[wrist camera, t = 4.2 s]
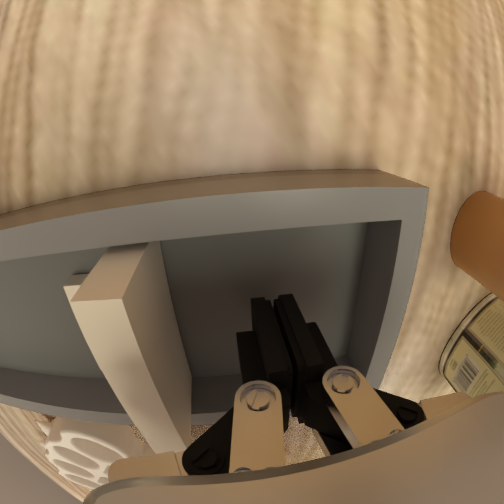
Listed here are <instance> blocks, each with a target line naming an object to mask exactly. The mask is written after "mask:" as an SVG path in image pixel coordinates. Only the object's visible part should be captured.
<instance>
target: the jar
mask: <svg viewBox="0 0 504 504" xmlns="http://www.w3.org/2000/svg"><path fill="white" fill-rule="evenodd" d="M450 249H451V256H452V259H453V261H454V263H455V264H456V265H457V266H458V267H459V268H461V269H462V270H463V271H465V272H466V273H467V274H469V275H470V276H471V277H473V278H474V279H475V280H477V281H478V282H479V283H480V284H482V285H483V286H484V287H486V288H487V289H488V290H489V291H491V292H492V293H493V294H494V295H495V296H497V297H498V298H499V299H500V300H502V301H503V302H504V199H502V198H500V197H497V196H495V195H492V194H490V193H488V192H485V191H479V192H476V193H474V194H473V195H471V196H470V197H469V198H468V199H467V200H466V201H465V203H464V204H463V206H462V207H461V209H460V211H459V213H458V215H457V217H456V220H455V223H454V226H453V230H452V235H451V243H450Z"/></svg>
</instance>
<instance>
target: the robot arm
mask: <svg viewBox="0 0 504 504" xmlns="http://www.w3.org/2000/svg"><path fill="white" fill-rule="evenodd" d="M251 316H252V331H244V332H236V338H237V348H238V356H239V364H240V371H241V377H242V384H243V385H242V386H241V387H240V388H239V389H238V390H237V392H236V395H235V400H234V406H233V407H232V408H231V409H230V410H229V411H228V412H227V413H226V414H225V415H224V416H222V417H221V418H220V419H219V420H218V421H217V422H216V423H215V424H214V425H213V426H212V427H210V428H209V429H208V430H207V431H206V432H205V433H204V434H203V435H201V436H200V437H199V438H198V439H197V440H196V441H194V442H193V443H192V444H191V445H190V446H189V447H188V448H187V449H186V450H185V451H181V452H176V453H174V451H170V452H164V453H159V454H153V455H146V456H139V457H132V458H123V459H119V460H116V461H115V462H113V463H112V464H111V465H110V467H109V469H108V480H109V483H106V484H104V485H101V486H99V487H97V488H95V489H93V490H92V491H91V492H90V493H89V494H88V495H87V496H86V498H85V500H84V502H83V504H504V392H492V393H486V394H482V395H478V396H475V397H473V398H471V396H469V395H468V394H467V393H463V392H456V393H452V394H448V395H444V396H439V397H434V398H429V399H424V400H420V402H419V403H416V402H413V401H411V400H408V399H405V398H402V397H399V396H396V395H393V394H390V393H387V392H384V391H381V390H378V389H375V388H372V386H371V385H370V384H369V383H368V381H367V380H366V379H365V377H364V376H363V375H362V374H361V373H360V372H359V371H358V370H357V369H355V368H353V367H349V366H338V365H337V363H336V361H335V359H334V357H333V355H332V353H331V351H330V349H329V347H328V345H327V343H326V341H325V339H324V337H323V335H322V333H321V331H320V329H319V327H318V325H317V324H316V322H310V323H306V322H305V319H304V317H303V315H302V313H301V311H300V309H299V307H298V304H297V302H296V300H295V298H294V296H293V294H292V293H291V294H283V295H278V299H274V301H273V307H272V304H271V301H270V300H265V297H258V298H251ZM290 411H291V415H292V417H297V418H298V421H299V424H300V423H305V425H306V426H308V427H310V428H312V431H313V434H314V436H315V438H316V440H317V442H318V443H319V445H320V447H321V449H322V451H323V452H324V454H325V456H326V457H323V458H319V459H315V460H311V461H306V462H302V463H297V464H292V465H287V466H286V465H285V447H284V433H285V431H286V430H287V429H288V423H289V413H290Z"/></svg>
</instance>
